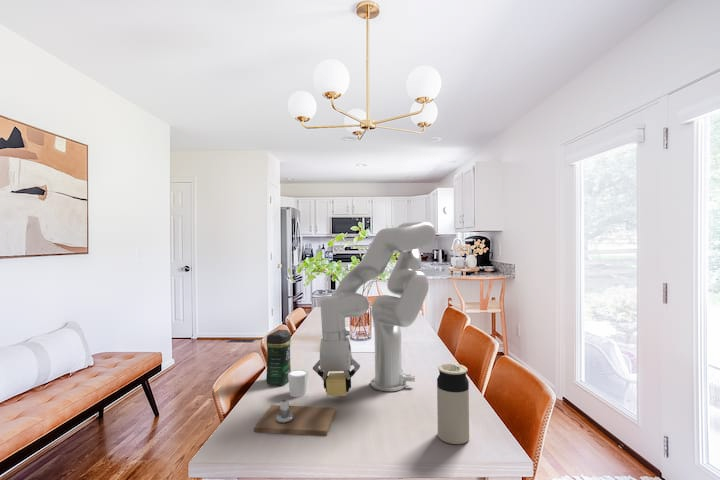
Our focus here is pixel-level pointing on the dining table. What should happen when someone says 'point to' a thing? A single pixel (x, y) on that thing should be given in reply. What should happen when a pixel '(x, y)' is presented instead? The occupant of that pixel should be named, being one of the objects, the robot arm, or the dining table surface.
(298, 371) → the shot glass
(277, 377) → the coffee jar
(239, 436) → the dining table surface
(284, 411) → the stub
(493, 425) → the dining table surface
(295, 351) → the dining table surface
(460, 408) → the travel mug
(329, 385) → the tan cardboard cube
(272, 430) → the board
